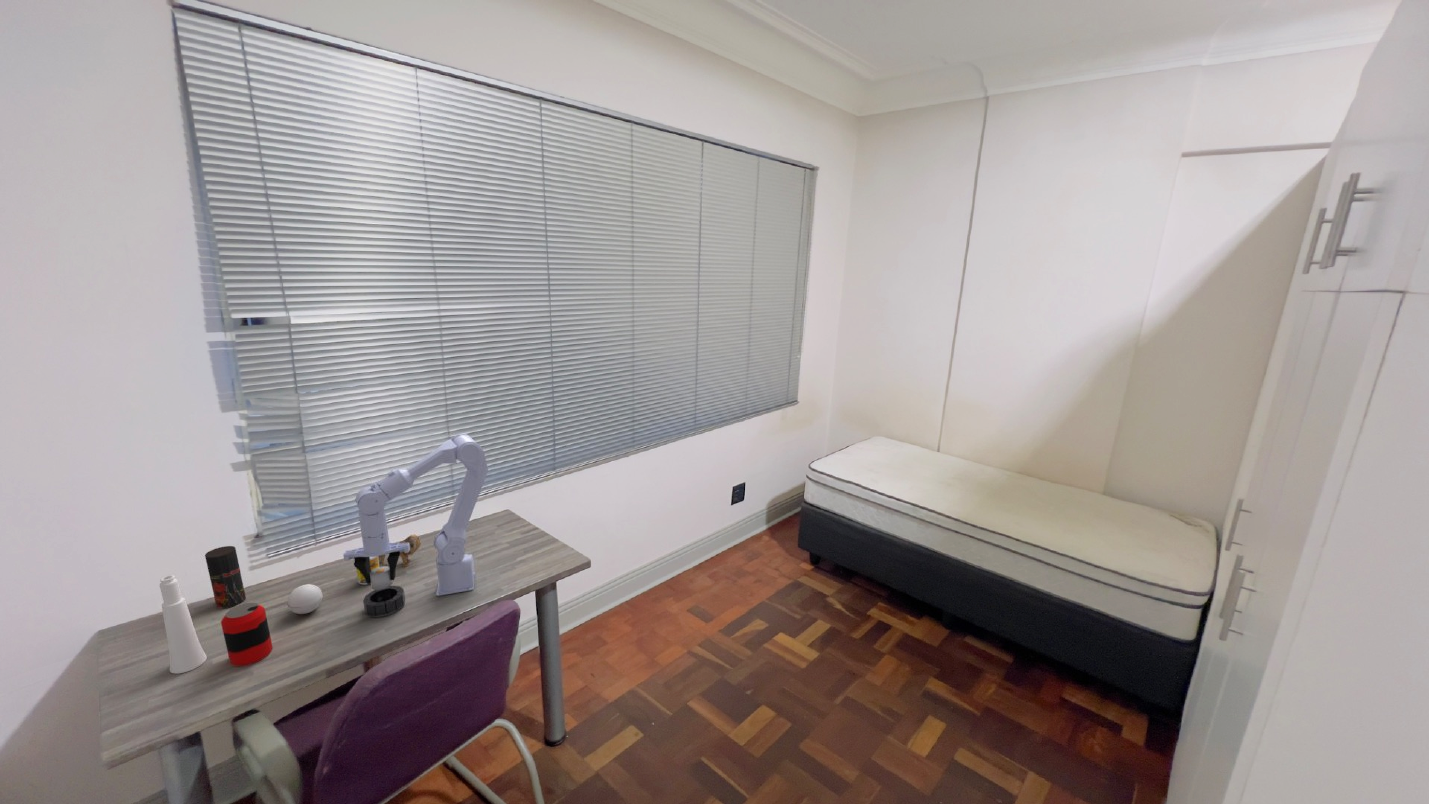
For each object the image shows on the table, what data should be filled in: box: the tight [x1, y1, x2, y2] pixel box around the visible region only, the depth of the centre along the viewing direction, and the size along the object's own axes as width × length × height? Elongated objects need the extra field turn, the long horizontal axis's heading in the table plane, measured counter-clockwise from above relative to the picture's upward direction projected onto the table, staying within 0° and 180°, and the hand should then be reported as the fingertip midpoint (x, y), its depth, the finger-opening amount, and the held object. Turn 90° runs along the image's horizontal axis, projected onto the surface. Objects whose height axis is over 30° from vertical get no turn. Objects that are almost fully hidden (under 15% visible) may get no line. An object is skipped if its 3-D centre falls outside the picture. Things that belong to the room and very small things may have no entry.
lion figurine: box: [378, 534, 422, 567], centre depth 163 cm, size 15×5×9 cm, turn 103°
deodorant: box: [204, 545, 247, 610], centre depth 142 cm, size 6×6×15 cm
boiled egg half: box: [370, 565, 394, 591], centre depth 140 cm, size 5×5×4 cm
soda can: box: [220, 602, 273, 667], centre depth 123 cm, size 8×8×12 cm
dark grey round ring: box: [362, 585, 406, 619], centre depth 142 cm, size 9×9×4 cm
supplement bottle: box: [355, 545, 381, 586], centre depth 153 cm, size 6×6×10 cm
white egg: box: [280, 583, 324, 615], centre depth 138 cm, size 10×7×7 cm
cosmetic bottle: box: [159, 574, 208, 675], centre depth 118 cm, size 6×6×22 cm
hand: (381, 579), depth 140 cm, fingers closed on boiled egg half, 5 cm apart
